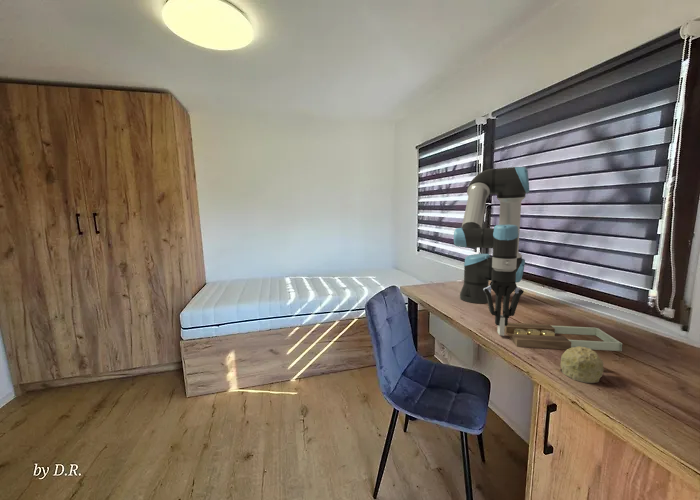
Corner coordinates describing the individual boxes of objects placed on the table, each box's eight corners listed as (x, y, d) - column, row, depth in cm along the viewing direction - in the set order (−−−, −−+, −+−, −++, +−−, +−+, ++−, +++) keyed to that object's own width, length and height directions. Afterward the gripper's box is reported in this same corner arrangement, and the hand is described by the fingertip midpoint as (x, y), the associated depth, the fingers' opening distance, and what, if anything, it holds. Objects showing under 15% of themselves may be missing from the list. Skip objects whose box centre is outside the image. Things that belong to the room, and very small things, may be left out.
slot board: (502, 331, 113) (502, 322, 112) (548, 333, 110) (549, 324, 109) (516, 349, 98) (517, 339, 98) (570, 352, 95) (571, 342, 95)
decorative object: (571, 393, 80) (598, 375, 74) (545, 359, 88) (568, 340, 82) (594, 389, 83) (622, 371, 77) (567, 356, 91) (590, 338, 85)
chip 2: (524, 335, 107) (525, 328, 106) (537, 335, 106) (537, 329, 106) (529, 340, 103) (529, 333, 102) (542, 340, 102) (542, 333, 102)
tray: (550, 334, 109) (550, 325, 108) (596, 337, 106) (597, 327, 106) (568, 350, 97) (569, 340, 96) (621, 353, 94) (622, 343, 93)
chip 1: (512, 334, 107) (512, 328, 107) (524, 335, 106) (524, 329, 106) (515, 339, 103) (516, 333, 103) (528, 340, 102) (528, 333, 102)
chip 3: (538, 336, 105) (539, 329, 105) (551, 337, 105) (551, 330, 104) (543, 341, 101) (544, 334, 101) (556, 342, 101) (557, 335, 100)
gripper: (486, 271, 100) (483, 337, 104) (528, 271, 98) (524, 339, 101) (481, 266, 108) (478, 328, 111) (520, 267, 105) (516, 330, 108)
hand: (500, 333), depth 106 cm, fingers closed
